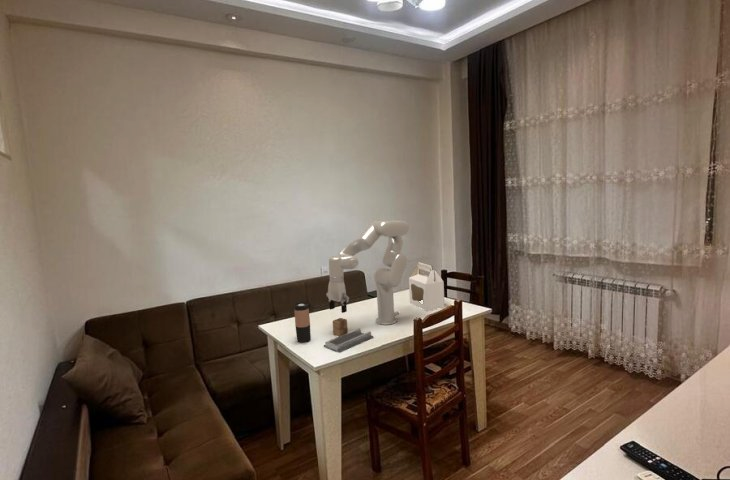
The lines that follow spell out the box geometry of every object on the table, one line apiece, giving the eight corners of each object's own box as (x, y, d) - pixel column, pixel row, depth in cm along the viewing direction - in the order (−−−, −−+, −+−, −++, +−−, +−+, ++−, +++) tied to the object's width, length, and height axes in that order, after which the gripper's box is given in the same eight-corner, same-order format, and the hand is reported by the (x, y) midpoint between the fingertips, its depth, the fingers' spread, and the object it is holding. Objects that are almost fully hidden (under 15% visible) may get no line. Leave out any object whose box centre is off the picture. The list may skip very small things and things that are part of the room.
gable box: (409, 302, 263) (407, 262, 259) (426, 299, 268) (424, 259, 264) (426, 311, 242) (425, 267, 239) (444, 308, 247) (443, 264, 244)
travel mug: (297, 338, 209) (294, 302, 206) (311, 337, 209) (308, 301, 207) (296, 344, 201) (293, 306, 199) (310, 342, 202) (308, 305, 199)
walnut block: (341, 331, 216) (340, 317, 215) (347, 333, 212) (346, 319, 211) (333, 334, 211) (332, 320, 210) (339, 336, 208) (338, 322, 207)
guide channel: (357, 332, 213) (357, 327, 212) (373, 337, 204) (373, 332, 204) (323, 346, 196) (323, 341, 195) (339, 352, 187) (339, 347, 187)
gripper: (321, 278, 211) (322, 309, 213) (342, 282, 199) (343, 315, 201) (331, 276, 217) (332, 306, 218) (352, 280, 205) (354, 311, 206)
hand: (338, 310), depth 210 cm, fingers open, 9 cm apart
